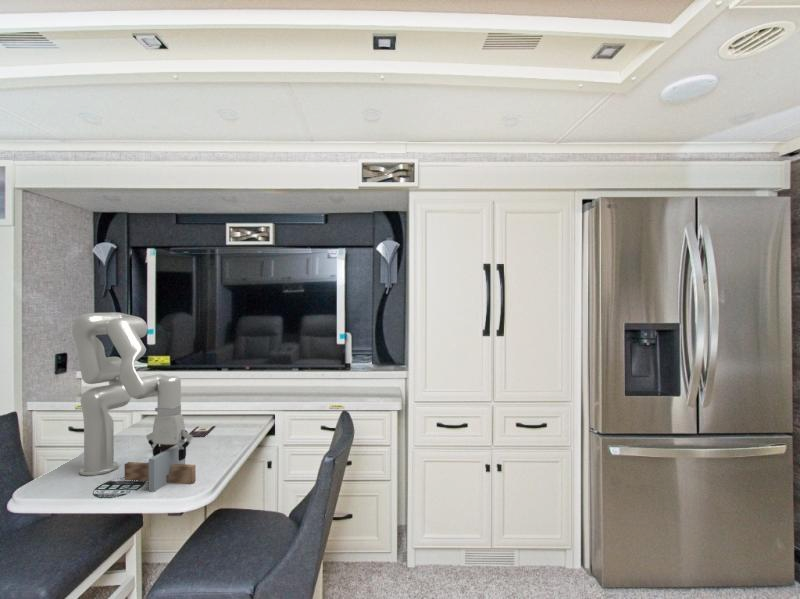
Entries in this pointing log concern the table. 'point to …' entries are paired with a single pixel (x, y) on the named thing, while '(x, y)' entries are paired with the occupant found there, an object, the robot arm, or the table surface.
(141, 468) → the walnut board
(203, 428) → the chocolate bar
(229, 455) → the table surface
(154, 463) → the grey panel
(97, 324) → the robot arm
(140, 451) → the table surface
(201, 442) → the table surface
